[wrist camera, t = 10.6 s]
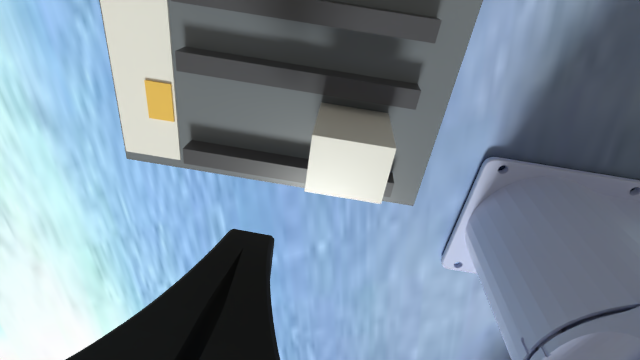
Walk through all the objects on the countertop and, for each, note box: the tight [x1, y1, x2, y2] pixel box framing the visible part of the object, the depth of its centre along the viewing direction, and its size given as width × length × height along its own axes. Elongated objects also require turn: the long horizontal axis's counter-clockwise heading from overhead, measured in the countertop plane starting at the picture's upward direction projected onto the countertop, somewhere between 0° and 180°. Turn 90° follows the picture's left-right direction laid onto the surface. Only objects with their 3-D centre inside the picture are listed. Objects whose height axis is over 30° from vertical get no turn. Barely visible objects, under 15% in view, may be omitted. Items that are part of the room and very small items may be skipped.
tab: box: [305, 102, 396, 204], centre depth 14 cm, size 3×2×4 cm
